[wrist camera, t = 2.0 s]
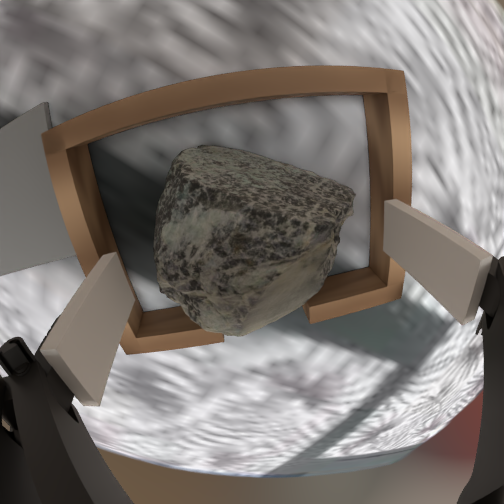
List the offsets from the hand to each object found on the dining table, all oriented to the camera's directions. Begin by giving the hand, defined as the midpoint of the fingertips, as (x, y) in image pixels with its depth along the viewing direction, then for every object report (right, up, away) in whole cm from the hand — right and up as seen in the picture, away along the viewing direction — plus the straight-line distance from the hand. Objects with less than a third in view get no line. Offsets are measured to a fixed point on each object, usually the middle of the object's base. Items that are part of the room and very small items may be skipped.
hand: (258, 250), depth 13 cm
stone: (-1, +3, +5) cm, 6 cm away
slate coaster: (-18, +4, +2) cm, 19 cm away
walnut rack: (-1, +3, +5) cm, 6 cm away
